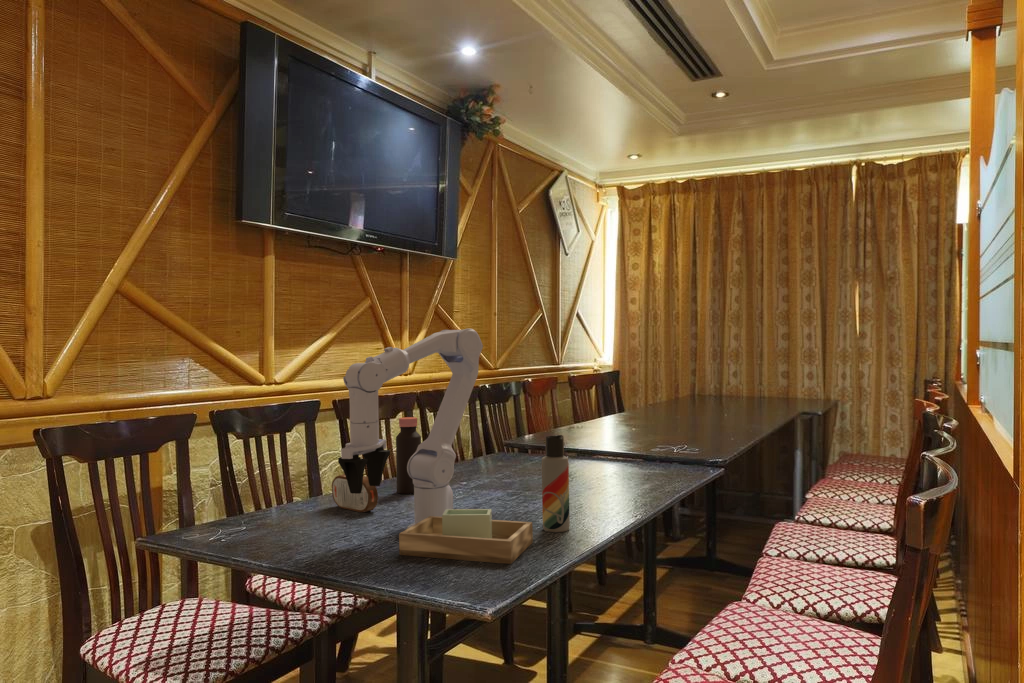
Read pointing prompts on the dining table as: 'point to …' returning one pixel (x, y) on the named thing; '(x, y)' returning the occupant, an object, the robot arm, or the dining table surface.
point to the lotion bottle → (555, 486)
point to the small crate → (467, 522)
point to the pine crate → (467, 542)
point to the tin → (354, 495)
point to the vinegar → (406, 453)
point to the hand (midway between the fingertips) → (365, 489)
